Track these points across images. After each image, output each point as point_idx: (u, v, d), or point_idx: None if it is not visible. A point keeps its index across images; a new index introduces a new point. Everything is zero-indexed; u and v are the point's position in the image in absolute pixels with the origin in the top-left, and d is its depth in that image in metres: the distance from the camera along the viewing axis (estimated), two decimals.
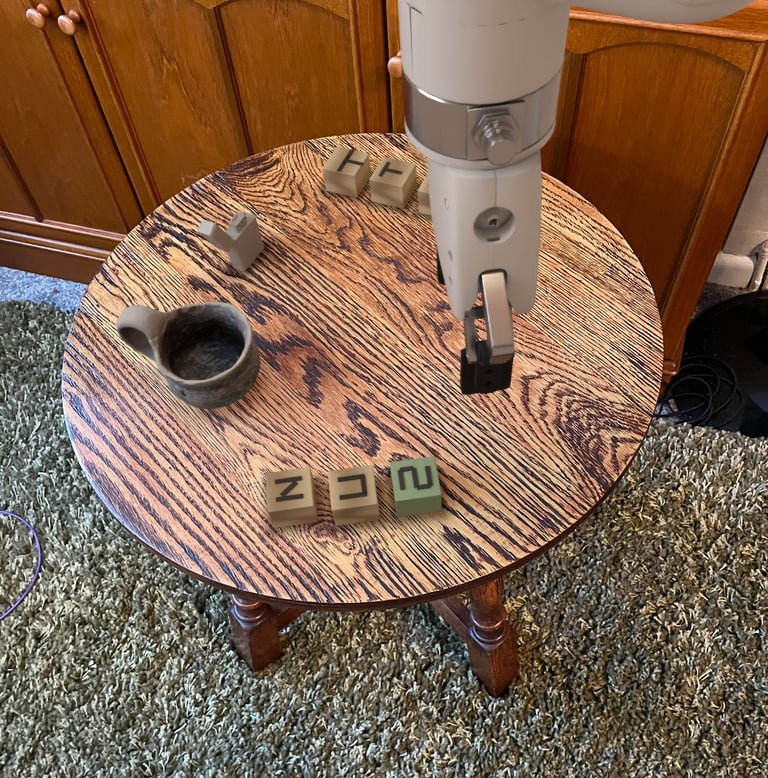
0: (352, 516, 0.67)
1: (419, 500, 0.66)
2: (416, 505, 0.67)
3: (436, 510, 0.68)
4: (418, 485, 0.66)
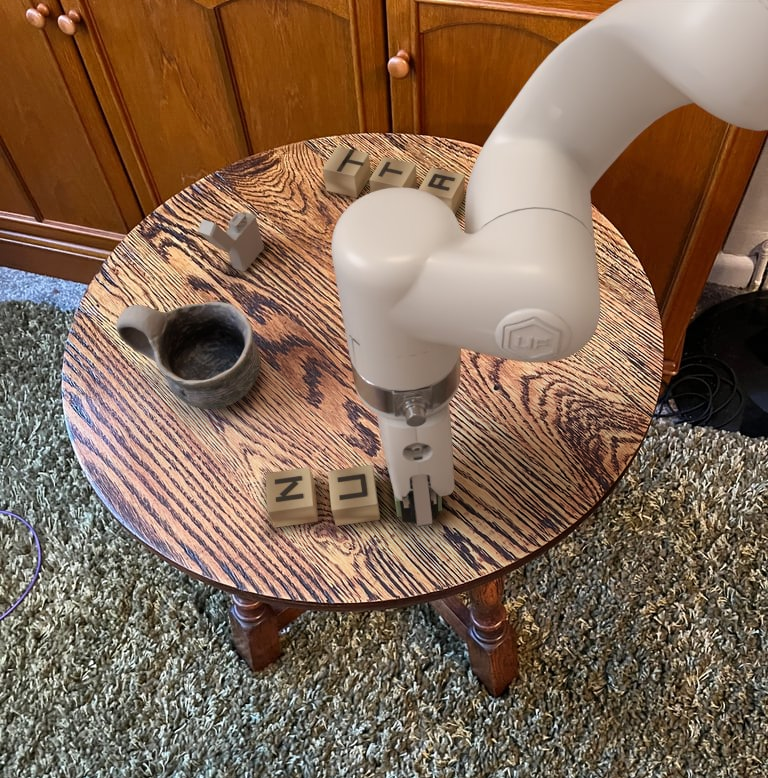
0: (352, 516, 0.67)
1: None
2: None
3: None
4: None
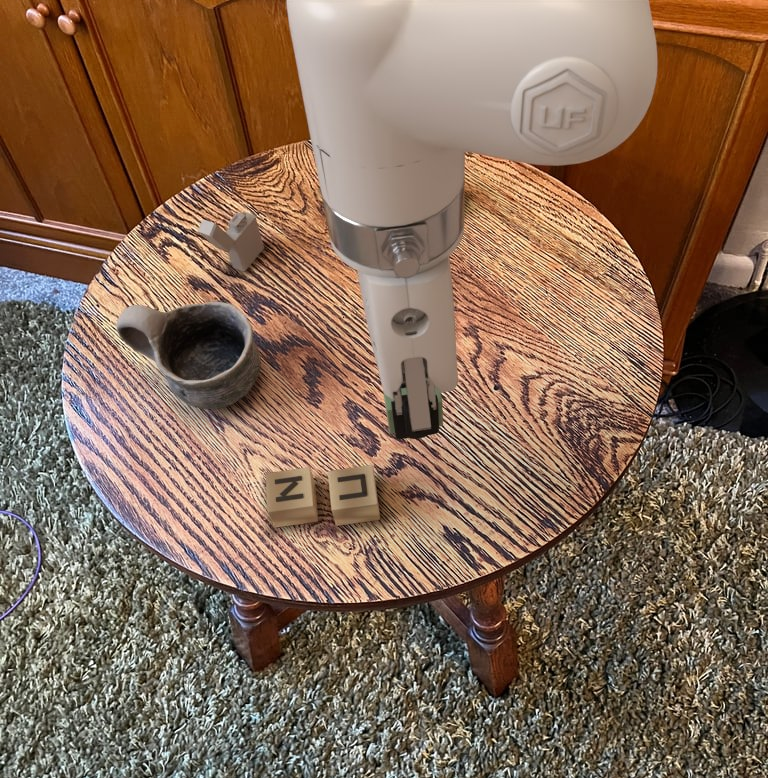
0: (352, 516, 0.67)
1: None
2: None
3: None
4: None
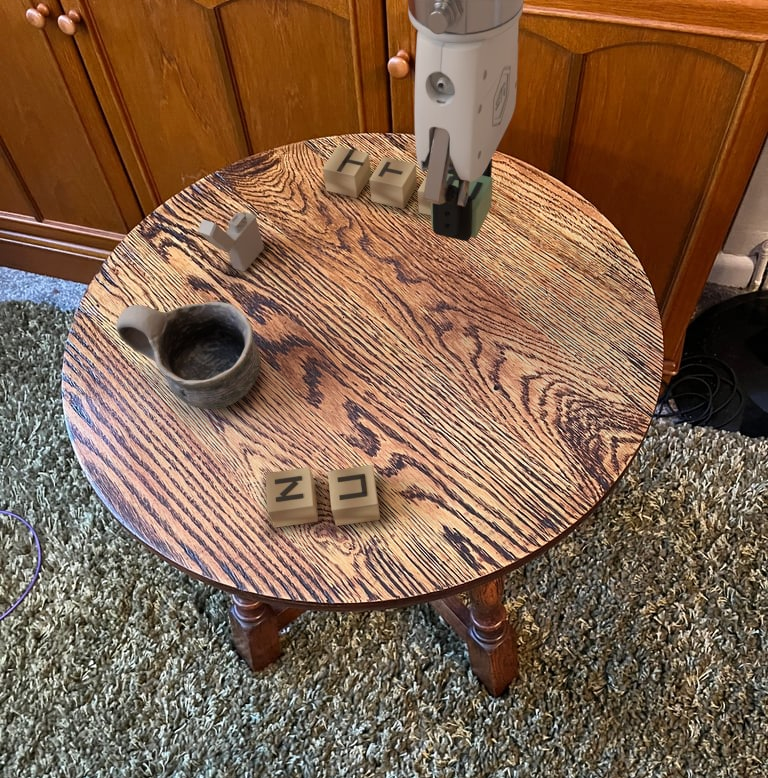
0: (352, 516, 0.67)
1: None
2: None
3: None
4: None
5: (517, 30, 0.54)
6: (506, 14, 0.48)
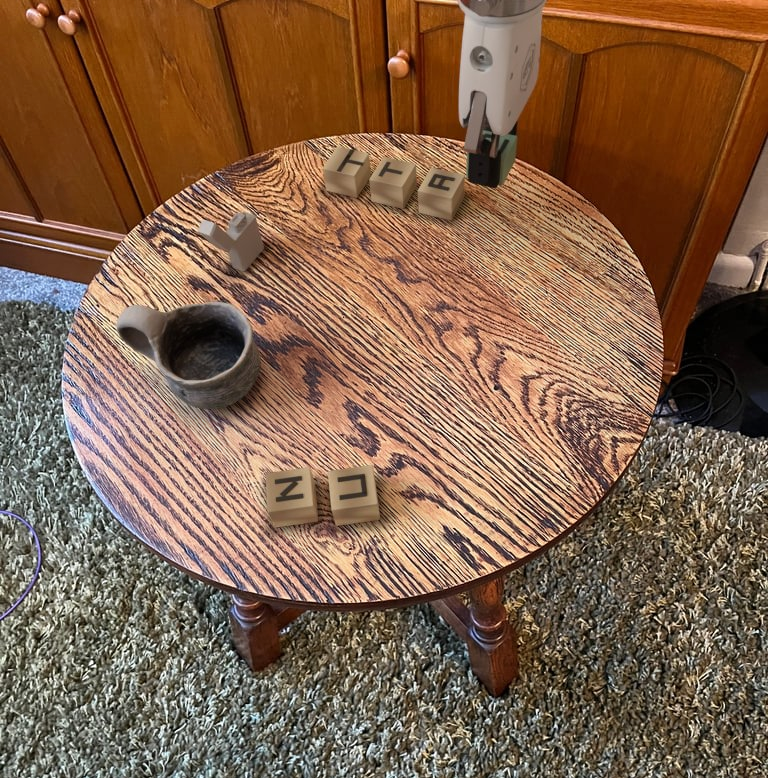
0: (352, 516, 0.67)
1: None
2: None
3: None
4: None
5: (541, 15, 0.69)
6: (534, 2, 0.63)
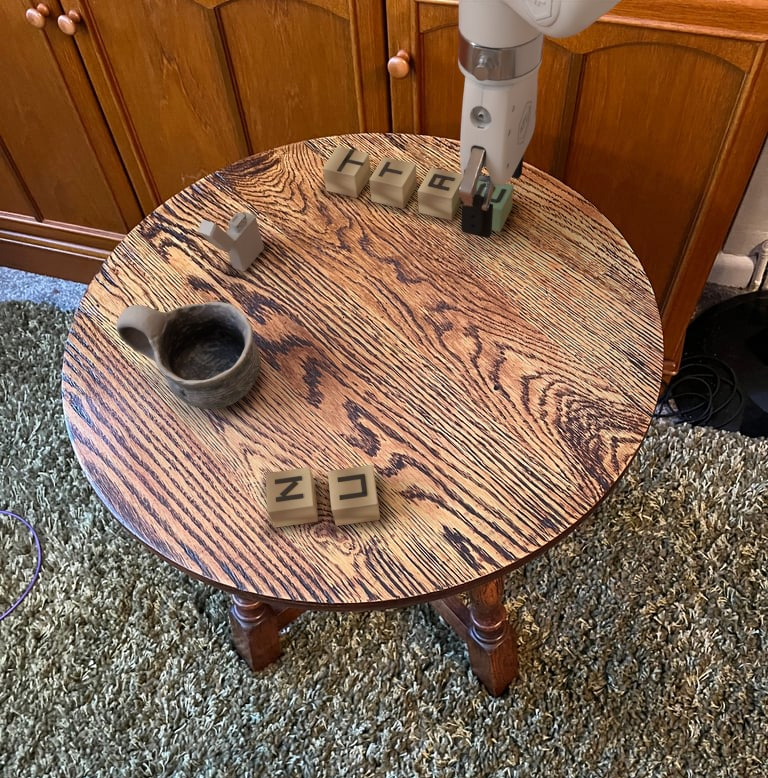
0: (352, 516, 0.67)
1: None
2: None
3: (495, 229, 0.84)
4: None
5: (537, 74, 0.73)
6: (529, 66, 0.67)
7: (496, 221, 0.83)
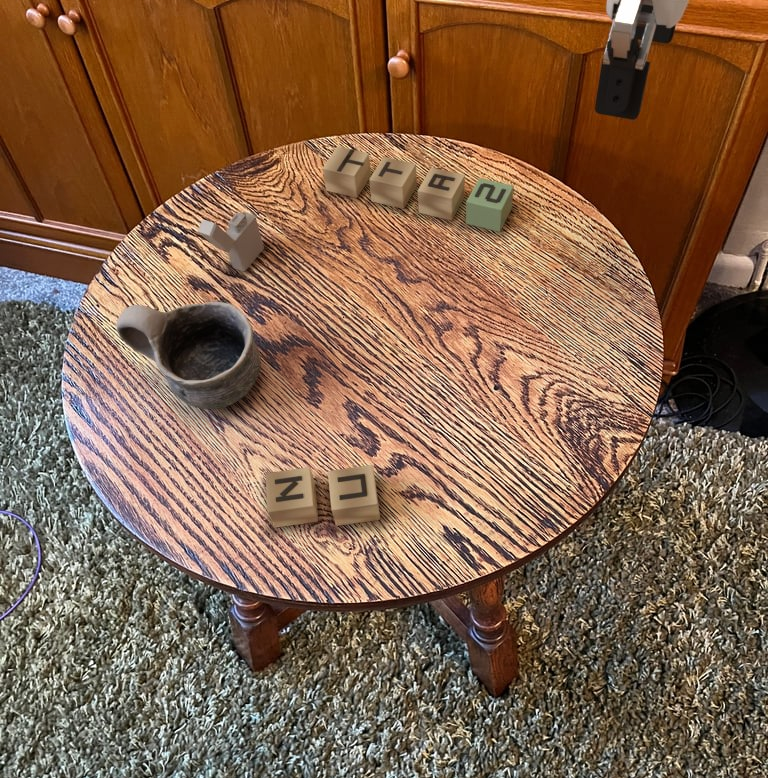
0: (352, 516, 0.67)
1: (484, 210, 0.82)
2: (481, 214, 0.83)
3: (495, 229, 0.84)
4: (489, 198, 0.82)
5: None
6: None
7: (496, 221, 0.83)
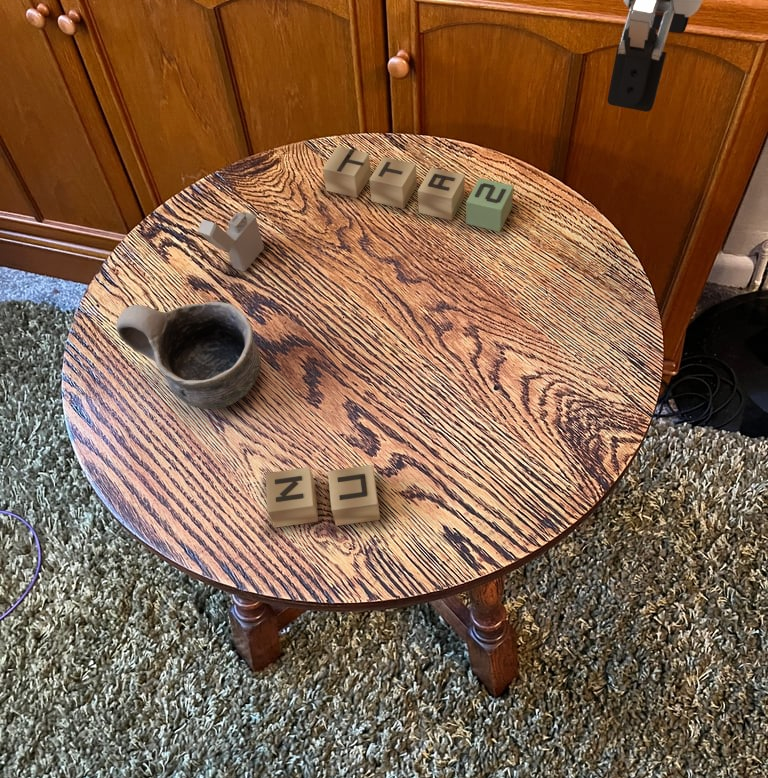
0: (352, 516, 0.67)
1: (484, 210, 0.82)
2: (481, 214, 0.83)
3: (495, 229, 0.84)
4: (489, 198, 0.82)
5: None
6: None
7: (496, 221, 0.83)
